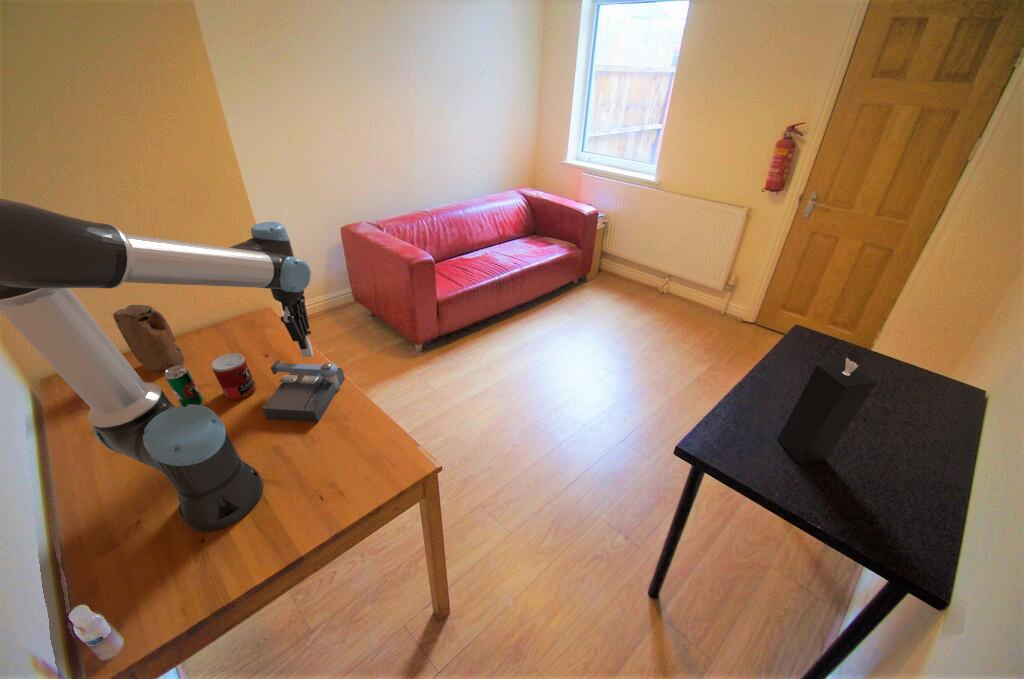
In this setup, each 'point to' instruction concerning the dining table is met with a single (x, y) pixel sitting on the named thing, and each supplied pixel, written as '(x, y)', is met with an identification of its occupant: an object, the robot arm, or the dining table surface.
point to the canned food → (234, 376)
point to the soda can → (183, 386)
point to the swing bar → (304, 368)
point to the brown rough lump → (148, 337)
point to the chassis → (303, 396)
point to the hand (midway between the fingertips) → (308, 355)
